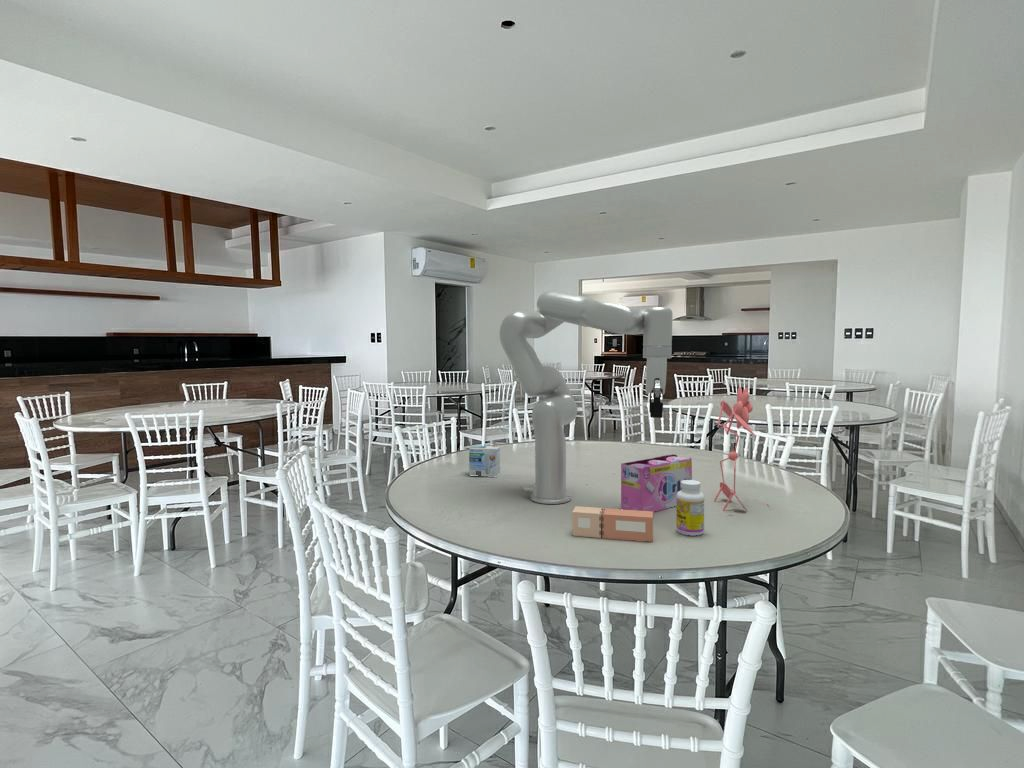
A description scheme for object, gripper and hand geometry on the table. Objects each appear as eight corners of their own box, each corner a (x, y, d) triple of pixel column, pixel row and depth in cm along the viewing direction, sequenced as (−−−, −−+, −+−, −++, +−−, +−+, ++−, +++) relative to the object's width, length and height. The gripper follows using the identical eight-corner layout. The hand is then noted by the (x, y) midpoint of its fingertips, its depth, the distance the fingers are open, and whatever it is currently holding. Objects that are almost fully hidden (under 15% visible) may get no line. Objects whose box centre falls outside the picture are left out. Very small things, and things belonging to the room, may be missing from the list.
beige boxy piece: (572, 535, 134) (572, 511, 134) (575, 529, 139) (575, 505, 139) (600, 538, 132) (600, 513, 132) (603, 531, 137) (602, 507, 137)
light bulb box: (468, 477, 198) (468, 448, 198) (473, 473, 205) (472, 444, 204) (497, 478, 196) (496, 448, 196) (500, 473, 203) (500, 445, 202)
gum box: (674, 496, 170) (675, 453, 169) (696, 501, 163) (696, 457, 162) (620, 509, 156) (620, 463, 155) (640, 516, 150) (640, 467, 149)
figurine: (729, 519, 146) (734, 389, 143) (703, 494, 171) (707, 384, 169) (788, 521, 144) (794, 390, 142) (753, 495, 170) (757, 384, 168)
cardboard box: (602, 538, 132) (602, 513, 132) (604, 531, 137) (604, 507, 137) (652, 542, 129) (652, 517, 129) (652, 535, 134) (653, 511, 134)
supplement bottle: (672, 528, 139) (672, 479, 138) (697, 527, 140) (697, 478, 139) (682, 537, 132) (682, 485, 132) (708, 536, 133) (709, 484, 132)
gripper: (642, 352, 156) (641, 411, 158) (643, 353, 140) (642, 418, 141) (669, 352, 155) (668, 411, 156) (673, 353, 138) (671, 419, 139)
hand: (655, 415), depth 148 cm, fingers open, 9 cm apart
